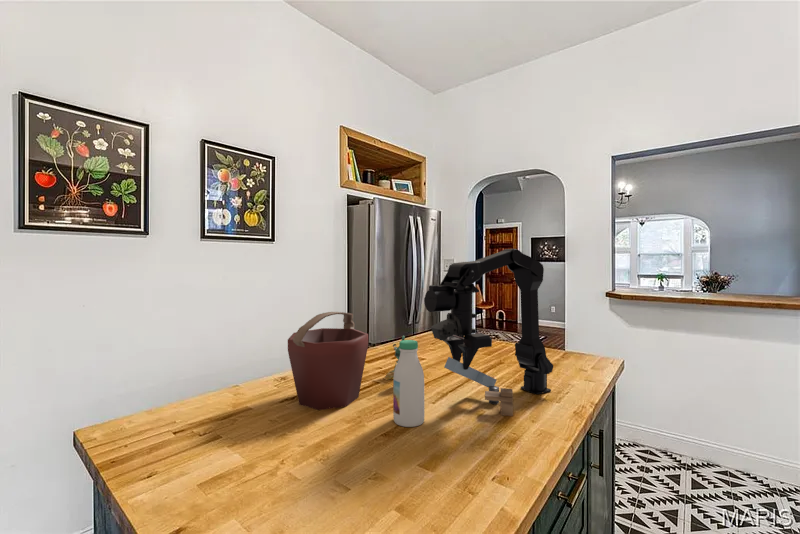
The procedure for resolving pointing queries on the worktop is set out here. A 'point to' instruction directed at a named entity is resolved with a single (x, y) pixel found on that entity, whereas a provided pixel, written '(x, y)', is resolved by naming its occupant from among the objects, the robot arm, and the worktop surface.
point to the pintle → (495, 389)
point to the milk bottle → (408, 387)
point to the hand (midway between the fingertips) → (461, 367)
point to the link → (469, 373)
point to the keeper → (502, 400)
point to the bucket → (327, 363)
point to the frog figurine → (391, 372)
